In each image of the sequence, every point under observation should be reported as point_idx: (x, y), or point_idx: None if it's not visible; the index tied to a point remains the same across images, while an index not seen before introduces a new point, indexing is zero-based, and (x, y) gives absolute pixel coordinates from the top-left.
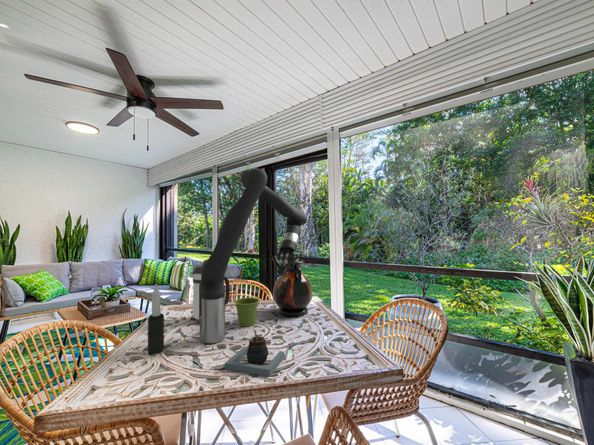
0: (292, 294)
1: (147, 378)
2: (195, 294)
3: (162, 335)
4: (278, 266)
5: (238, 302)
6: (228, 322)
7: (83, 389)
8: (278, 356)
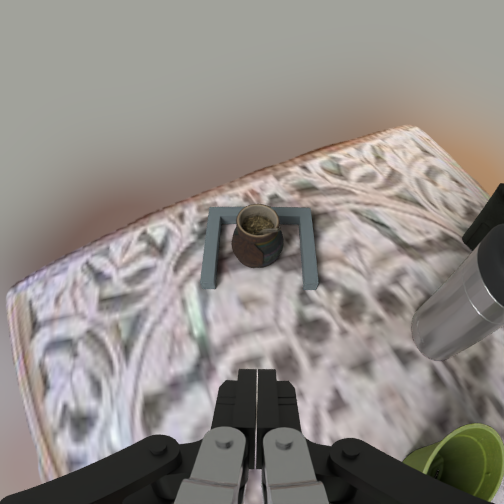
0: None
1: (398, 174)
2: None
3: (479, 219)
4: (314, 448)
5: (493, 469)
6: None
7: (433, 150)
8: (208, 257)
